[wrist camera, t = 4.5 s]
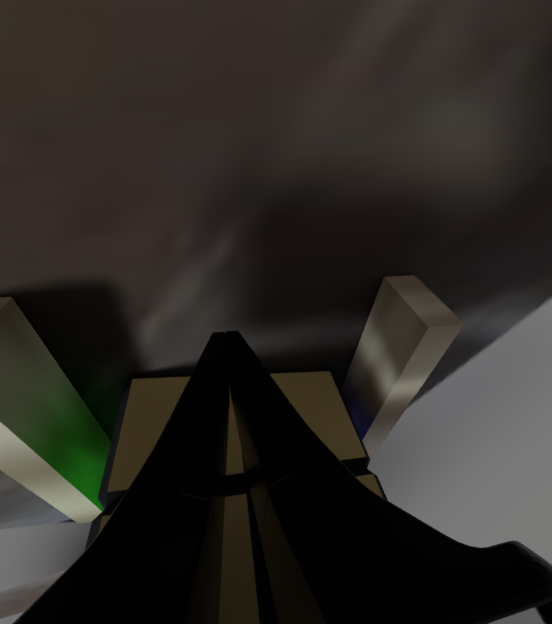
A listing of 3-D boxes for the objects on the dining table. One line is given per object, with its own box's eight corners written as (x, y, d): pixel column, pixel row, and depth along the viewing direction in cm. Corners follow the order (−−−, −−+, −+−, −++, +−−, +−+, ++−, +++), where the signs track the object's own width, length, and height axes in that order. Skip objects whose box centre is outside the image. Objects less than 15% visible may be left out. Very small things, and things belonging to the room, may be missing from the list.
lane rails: (346, 421, 19) (365, 467, 17) (96, 461, 16) (78, 523, 14) (414, 275, 11) (464, 323, 9) (-42, 299, 8) (-130, 381, 6)
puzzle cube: (291, 451, 21) (339, 658, 14) (147, 468, 18) (108, 740, 11) (333, 365, 15) (464, 660, 7) (125, 372, 12) (0, 853, 5)
